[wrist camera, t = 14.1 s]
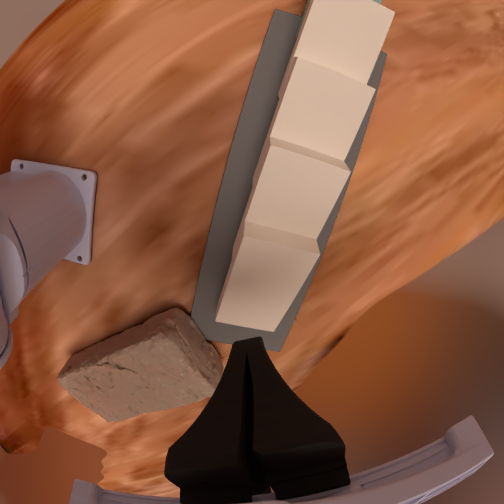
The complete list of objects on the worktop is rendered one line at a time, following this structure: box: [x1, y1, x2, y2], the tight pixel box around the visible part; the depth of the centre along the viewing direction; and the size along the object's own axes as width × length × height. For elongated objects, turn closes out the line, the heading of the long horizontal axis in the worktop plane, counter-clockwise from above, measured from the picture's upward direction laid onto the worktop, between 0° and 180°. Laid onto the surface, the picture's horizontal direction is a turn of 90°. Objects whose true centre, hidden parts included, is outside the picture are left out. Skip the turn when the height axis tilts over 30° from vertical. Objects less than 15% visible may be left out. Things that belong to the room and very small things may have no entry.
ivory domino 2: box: [253, 56, 376, 184], centre depth 17 cm, size 5×2×9 cm
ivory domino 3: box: [232, 137, 351, 258], centre depth 19 cm, size 5×2×9 cm
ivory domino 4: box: [215, 221, 320, 332], centre depth 21 cm, size 5×2×9 cm
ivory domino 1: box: [278, 0, 395, 99], centre depth 14 cm, size 5×2×9 cm
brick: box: [57, 308, 223, 422], centre depth 24 cm, size 17×8×5 cm, turn 118°
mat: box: [190, 9, 387, 352], centre depth 21 cm, size 9×28×1 cm, turn 164°
